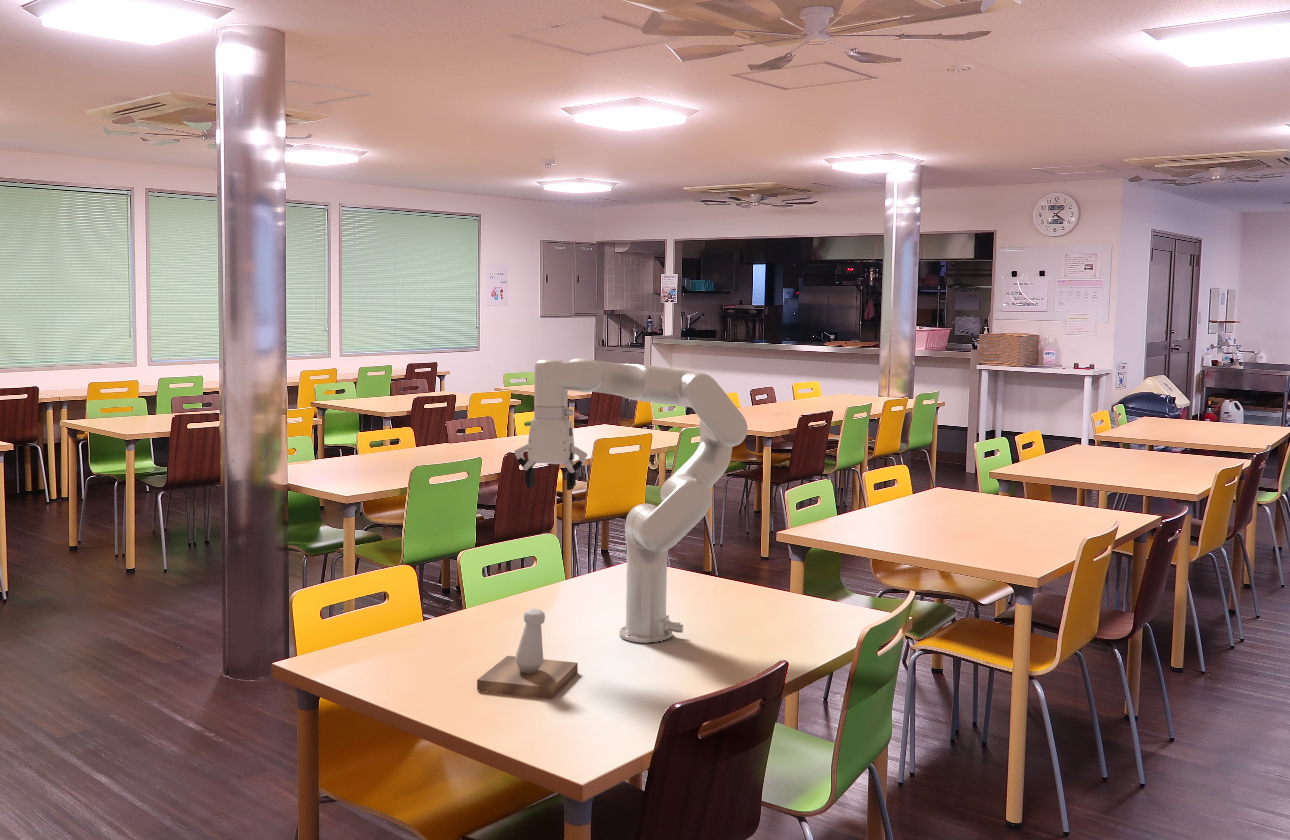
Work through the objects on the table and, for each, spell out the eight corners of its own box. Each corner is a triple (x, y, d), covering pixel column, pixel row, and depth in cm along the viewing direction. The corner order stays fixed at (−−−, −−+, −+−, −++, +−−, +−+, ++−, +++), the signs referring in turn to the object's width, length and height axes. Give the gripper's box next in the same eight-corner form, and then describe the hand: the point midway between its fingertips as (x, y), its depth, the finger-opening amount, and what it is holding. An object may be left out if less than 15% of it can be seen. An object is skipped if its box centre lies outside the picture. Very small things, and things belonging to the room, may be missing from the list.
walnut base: (577, 676, 221) (577, 662, 220) (552, 702, 205) (552, 687, 205) (507, 669, 225) (507, 655, 224) (477, 694, 209) (477, 679, 209)
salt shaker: (535, 678, 211) (542, 619, 208) (509, 671, 212) (516, 613, 210) (546, 666, 217) (553, 609, 214) (520, 660, 218) (527, 603, 215)
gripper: (592, 413, 238) (591, 487, 239) (521, 411, 242) (521, 483, 244) (581, 416, 230) (581, 492, 232) (509, 413, 235) (508, 488, 236)
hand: (550, 488), depth 238 cm, fingers open, 9 cm apart
